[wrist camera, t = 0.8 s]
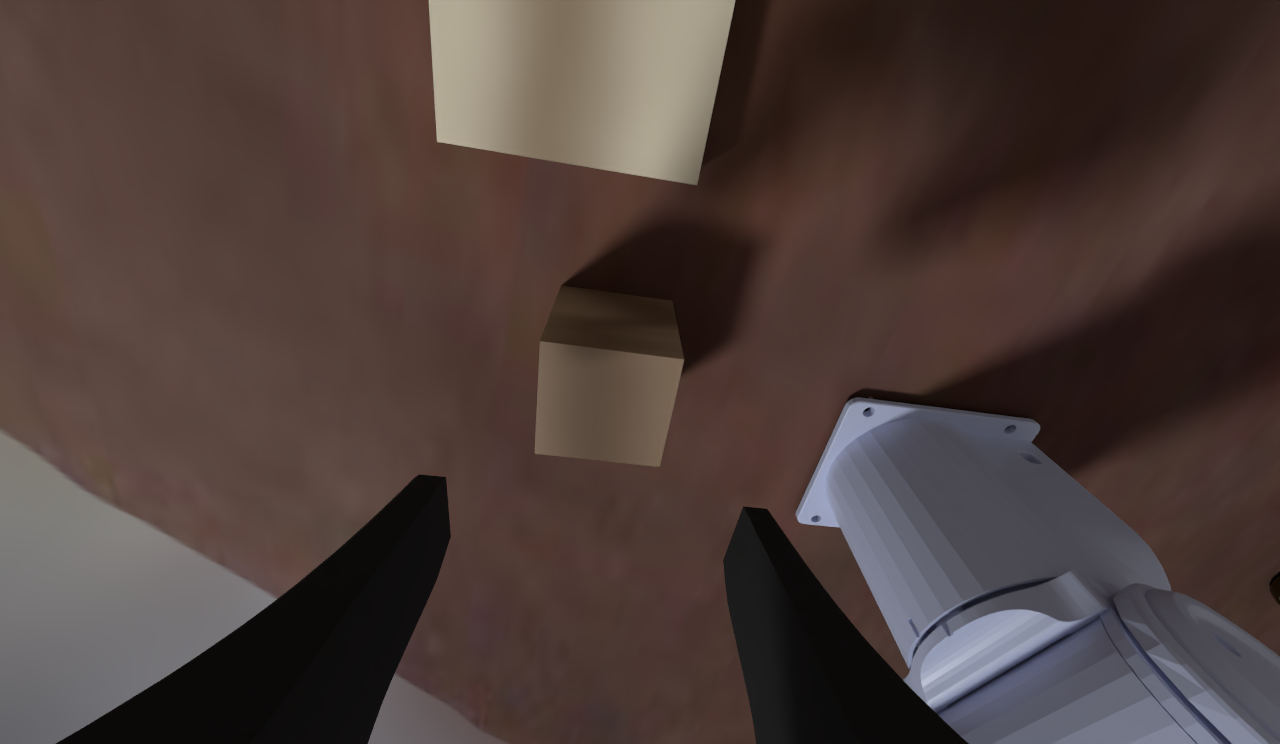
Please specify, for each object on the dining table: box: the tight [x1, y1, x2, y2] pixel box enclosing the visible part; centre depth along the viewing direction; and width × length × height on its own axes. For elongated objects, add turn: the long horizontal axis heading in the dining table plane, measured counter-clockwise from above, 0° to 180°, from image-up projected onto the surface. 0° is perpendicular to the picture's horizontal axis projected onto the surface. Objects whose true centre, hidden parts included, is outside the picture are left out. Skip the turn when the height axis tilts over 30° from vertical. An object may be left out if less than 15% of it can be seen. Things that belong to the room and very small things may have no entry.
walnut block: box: [535, 285, 684, 467], centre depth 18 cm, size 4×4×5 cm
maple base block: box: [429, 0, 735, 185], centre depth 13 cm, size 8×8×2 cm
